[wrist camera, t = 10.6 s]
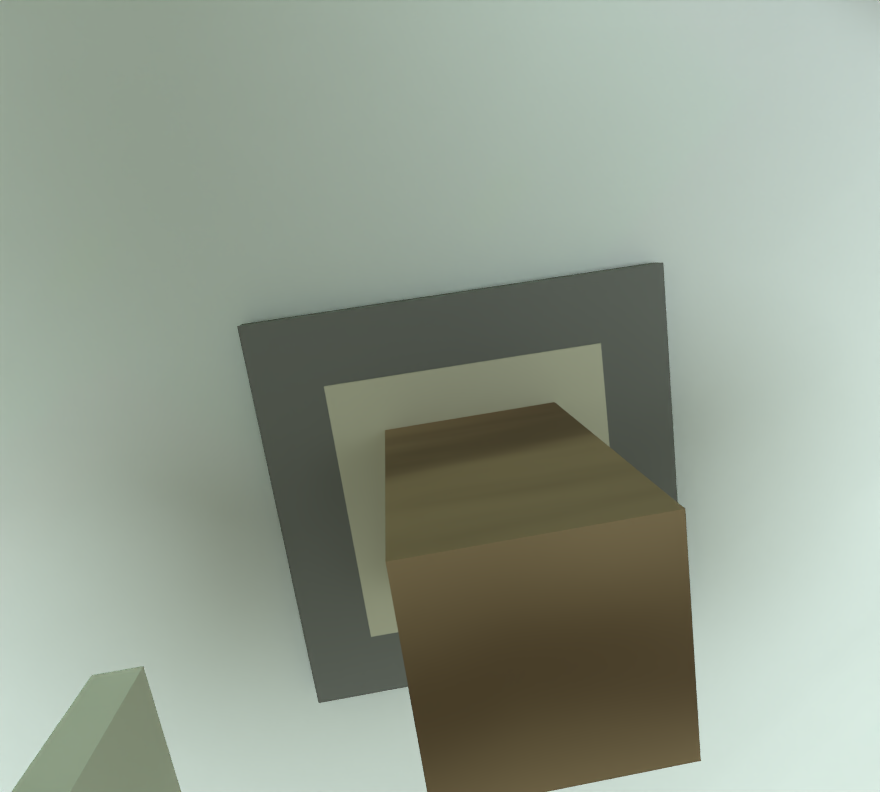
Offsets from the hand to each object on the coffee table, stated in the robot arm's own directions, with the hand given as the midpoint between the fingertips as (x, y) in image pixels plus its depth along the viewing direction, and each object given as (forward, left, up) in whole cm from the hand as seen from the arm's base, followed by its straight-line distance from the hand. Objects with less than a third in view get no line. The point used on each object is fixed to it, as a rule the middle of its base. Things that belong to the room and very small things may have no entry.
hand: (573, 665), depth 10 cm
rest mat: (0, 0, -9) cm, 9 cm away
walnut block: (0, 0, -9) cm, 9 cm away
